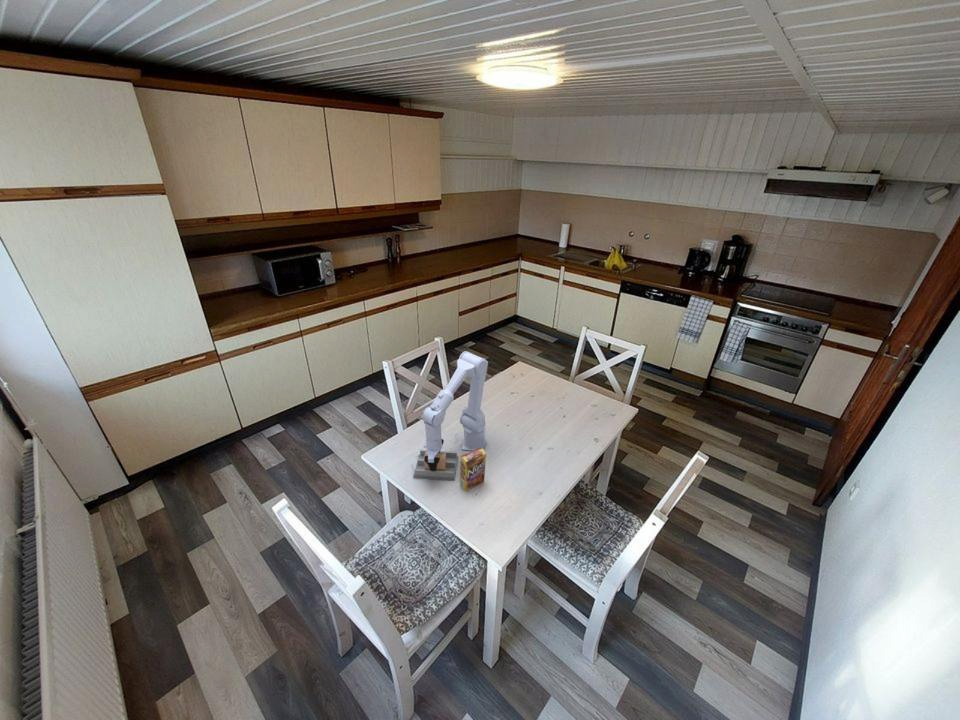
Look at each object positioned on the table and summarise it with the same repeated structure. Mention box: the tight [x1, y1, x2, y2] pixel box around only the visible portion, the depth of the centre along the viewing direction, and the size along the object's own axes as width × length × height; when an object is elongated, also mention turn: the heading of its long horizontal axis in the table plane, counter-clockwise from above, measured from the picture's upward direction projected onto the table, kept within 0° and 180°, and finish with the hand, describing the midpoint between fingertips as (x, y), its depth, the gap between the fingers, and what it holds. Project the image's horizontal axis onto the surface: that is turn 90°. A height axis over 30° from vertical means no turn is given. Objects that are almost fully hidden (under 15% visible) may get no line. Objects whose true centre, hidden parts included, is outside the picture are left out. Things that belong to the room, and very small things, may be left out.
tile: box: [424, 452, 447, 471], centre depth 150 cm, size 8×3×8 cm, turn 86°
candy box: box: [459, 447, 487, 492], centre depth 144 cm, size 9×4×15 cm, turn 123°
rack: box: [412, 449, 459, 481], centre depth 154 cm, size 16×12×4 cm
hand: (434, 463), depth 150 cm, fingers open, 7 cm apart
